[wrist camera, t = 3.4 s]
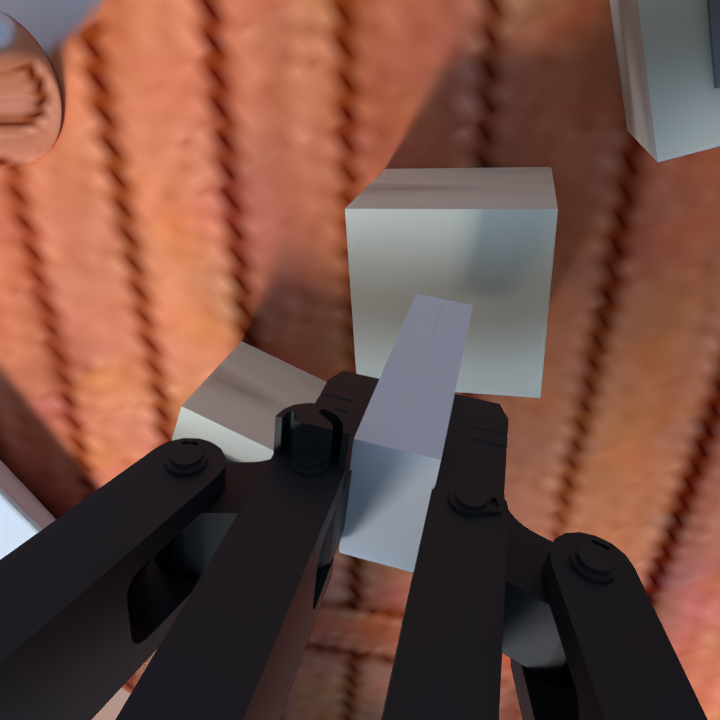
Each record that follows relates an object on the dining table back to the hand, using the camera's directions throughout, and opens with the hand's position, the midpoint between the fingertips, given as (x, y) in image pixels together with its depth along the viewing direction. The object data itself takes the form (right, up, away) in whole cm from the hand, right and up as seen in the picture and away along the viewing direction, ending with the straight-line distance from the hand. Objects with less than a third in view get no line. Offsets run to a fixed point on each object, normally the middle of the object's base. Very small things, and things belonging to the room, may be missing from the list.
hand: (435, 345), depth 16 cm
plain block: (+2, +4, +8) cm, 9 cm away
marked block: (-6, -3, +14) cm, 15 cm away
